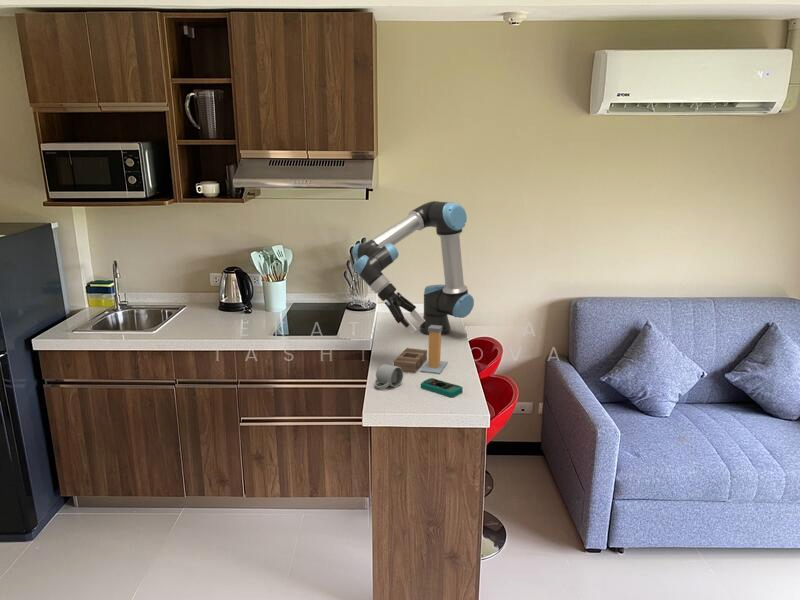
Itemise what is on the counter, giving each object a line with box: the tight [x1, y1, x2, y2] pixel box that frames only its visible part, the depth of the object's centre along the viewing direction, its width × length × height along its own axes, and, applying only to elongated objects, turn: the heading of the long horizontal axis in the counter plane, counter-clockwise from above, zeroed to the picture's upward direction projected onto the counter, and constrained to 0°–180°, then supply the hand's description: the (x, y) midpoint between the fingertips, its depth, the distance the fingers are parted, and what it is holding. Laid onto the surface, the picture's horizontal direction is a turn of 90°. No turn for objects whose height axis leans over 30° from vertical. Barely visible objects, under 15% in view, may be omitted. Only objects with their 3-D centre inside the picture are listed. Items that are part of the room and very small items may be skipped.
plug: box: [427, 325, 442, 368], centre depth 243 cm, size 5×5×17 cm
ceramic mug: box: [373, 364, 404, 390], centre depth 224 cm, size 11×8×8 cm
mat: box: [419, 360, 449, 375], centre depth 245 cm, size 14×8×1 cm, turn 162°
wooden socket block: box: [393, 347, 428, 374], centre depth 248 cm, size 18×9×4 cm, turn 163°
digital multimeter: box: [420, 377, 463, 398], centre depth 221 cm, size 7×15×3 cm, turn 51°
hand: (418, 327), depth 243 cm, fingers open, 13 cm apart
